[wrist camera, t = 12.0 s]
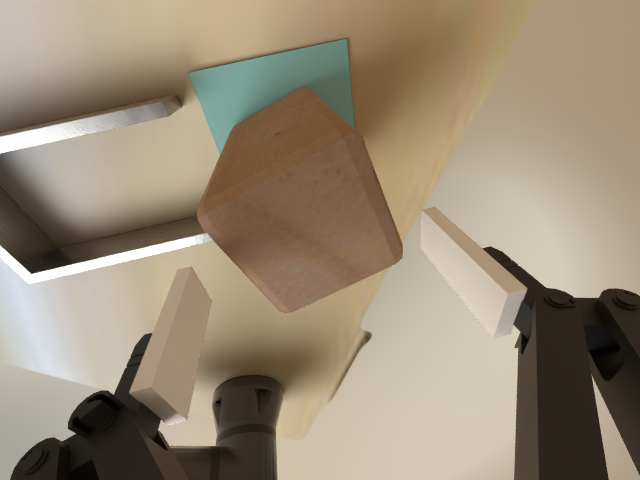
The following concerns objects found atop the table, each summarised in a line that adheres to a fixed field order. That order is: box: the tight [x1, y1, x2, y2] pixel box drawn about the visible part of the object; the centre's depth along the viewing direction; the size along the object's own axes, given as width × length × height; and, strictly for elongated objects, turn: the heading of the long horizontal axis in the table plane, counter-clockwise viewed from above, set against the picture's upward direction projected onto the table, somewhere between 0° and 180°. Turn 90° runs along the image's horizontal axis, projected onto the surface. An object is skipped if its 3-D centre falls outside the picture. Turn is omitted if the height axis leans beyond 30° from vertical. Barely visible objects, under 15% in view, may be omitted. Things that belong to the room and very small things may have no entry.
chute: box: [0, 94, 213, 284], centre depth 30 cm, size 15×23×5 cm, turn 100°
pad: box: [188, 39, 355, 155], centre depth 33 cm, size 18×16×1 cm
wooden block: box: [196, 87, 403, 313], centre depth 24 cm, size 10×10×20 cm
